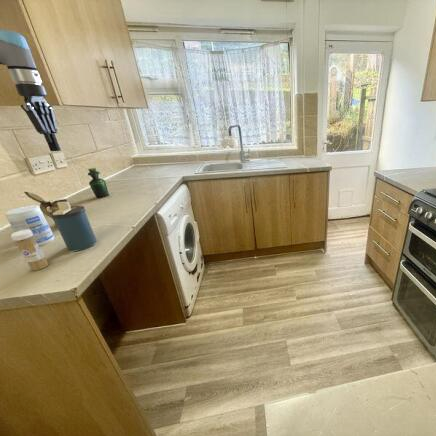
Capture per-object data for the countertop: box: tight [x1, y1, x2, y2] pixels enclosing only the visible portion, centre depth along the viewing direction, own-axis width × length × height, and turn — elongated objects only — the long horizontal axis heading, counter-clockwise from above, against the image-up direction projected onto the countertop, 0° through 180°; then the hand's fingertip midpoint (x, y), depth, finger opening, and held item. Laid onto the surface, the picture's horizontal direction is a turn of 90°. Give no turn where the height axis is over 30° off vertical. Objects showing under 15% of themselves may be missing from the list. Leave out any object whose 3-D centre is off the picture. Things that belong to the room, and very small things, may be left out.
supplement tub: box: [4, 205, 55, 247], centre depth 96 cm, size 10×10×15 cm
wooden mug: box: [23, 191, 72, 227], centre depth 112 cm, size 9×14×18 cm, turn 126°
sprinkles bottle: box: [10, 230, 50, 271], centre depth 80 cm, size 5×5×13 cm
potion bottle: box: [87, 167, 110, 199], centre depth 150 cm, size 8×8×18 cm
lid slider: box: [53, 201, 72, 215], centre depth 86 cm, size 4×3×3 cm
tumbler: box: [51, 205, 97, 253], centre depth 93 cm, size 10×10×15 cm
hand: (55, 150), depth 98 cm, fingers closed
